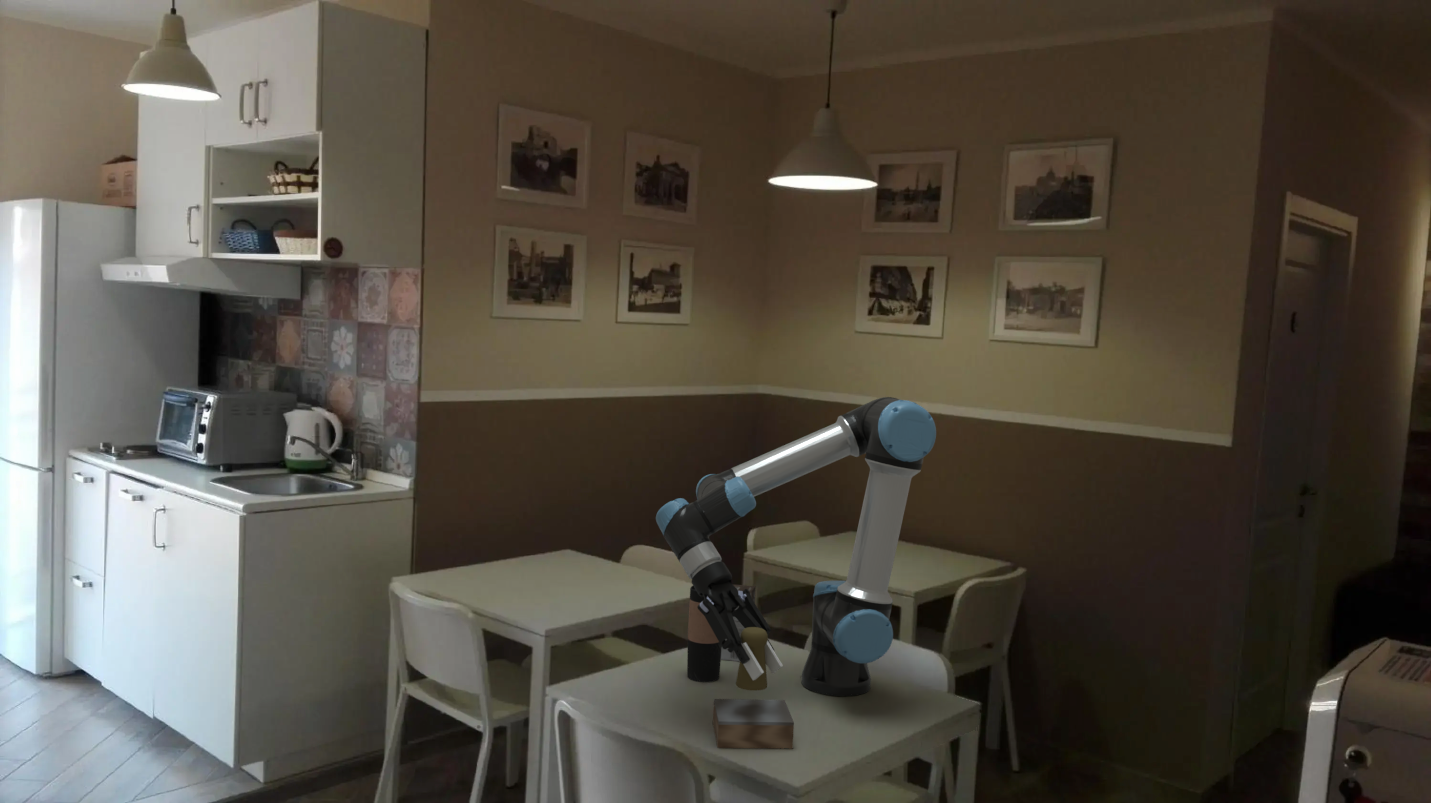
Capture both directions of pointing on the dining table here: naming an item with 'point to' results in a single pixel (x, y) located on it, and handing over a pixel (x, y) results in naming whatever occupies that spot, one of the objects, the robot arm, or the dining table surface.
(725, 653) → the coffee box
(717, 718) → the walnut stand
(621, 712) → the dining table surface
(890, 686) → the dining table surface
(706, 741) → the dining table surface
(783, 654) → the dining table surface
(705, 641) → the travel mug
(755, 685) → the cork
